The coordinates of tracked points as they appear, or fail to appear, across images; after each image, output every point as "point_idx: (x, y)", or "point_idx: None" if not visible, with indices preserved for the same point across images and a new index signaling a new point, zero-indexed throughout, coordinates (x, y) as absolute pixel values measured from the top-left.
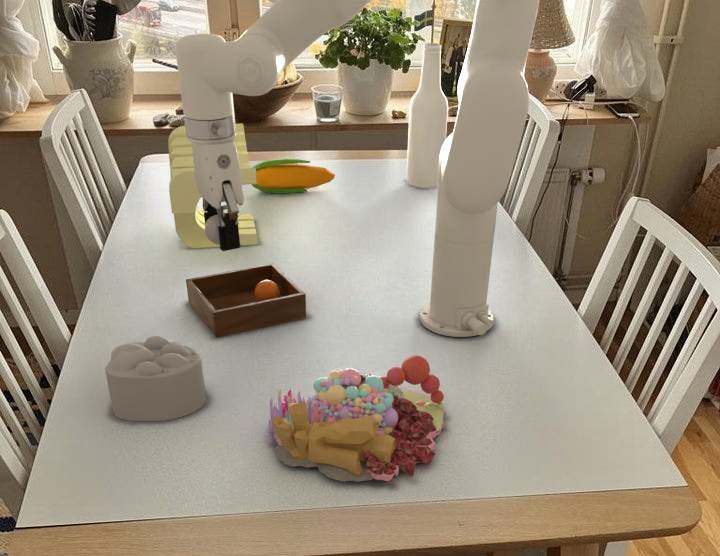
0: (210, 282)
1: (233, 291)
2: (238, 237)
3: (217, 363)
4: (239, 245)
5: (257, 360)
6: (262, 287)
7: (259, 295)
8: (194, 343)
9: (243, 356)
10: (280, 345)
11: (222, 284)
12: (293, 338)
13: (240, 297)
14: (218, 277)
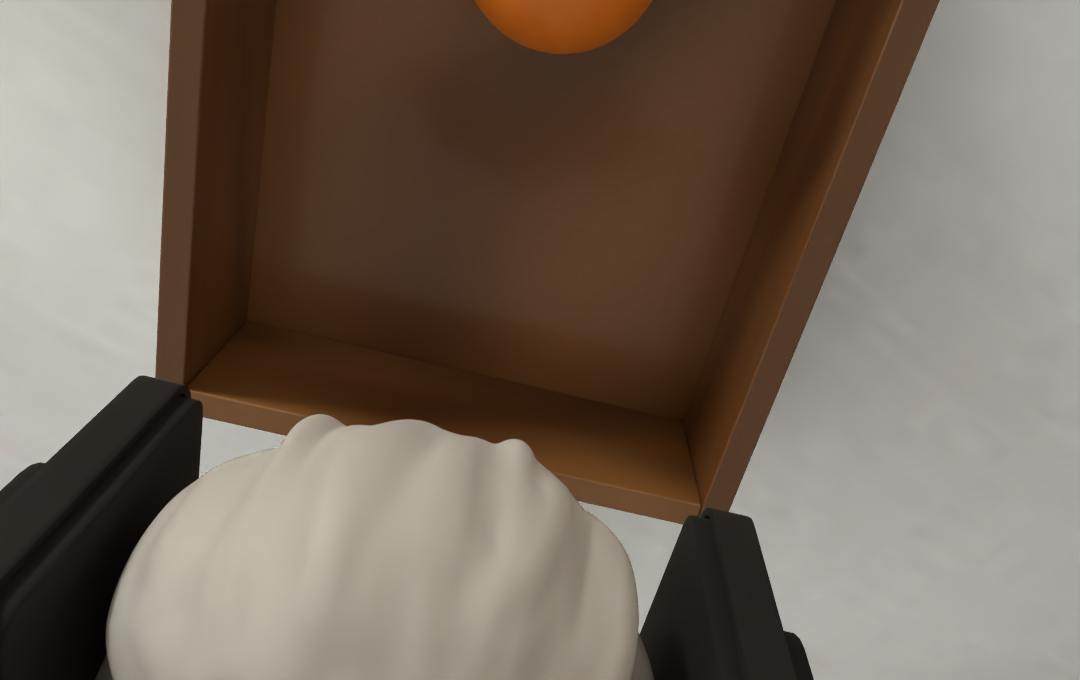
0: (211, 241)
1: (263, 51)
2: (772, 618)
3: (914, 562)
4: (752, 534)
5: (1060, 418)
6: (592, 15)
7: (590, 48)
8: (668, 538)
9: (967, 445)
10: (1052, 229)
11: (231, 144)
12: (1061, 109)
13: (345, 41)
14: (204, 184)
